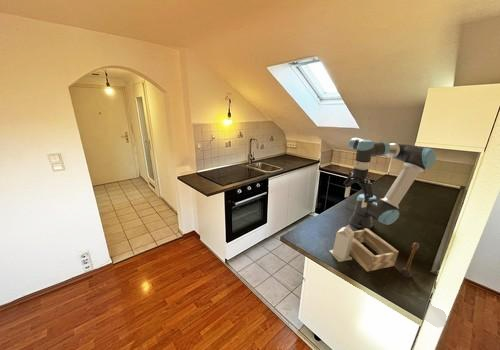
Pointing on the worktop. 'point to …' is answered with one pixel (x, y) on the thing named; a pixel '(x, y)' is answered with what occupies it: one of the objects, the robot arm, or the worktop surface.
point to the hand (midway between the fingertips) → (354, 201)
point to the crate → (377, 244)
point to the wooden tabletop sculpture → (409, 262)
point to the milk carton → (343, 242)
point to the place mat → (340, 258)
